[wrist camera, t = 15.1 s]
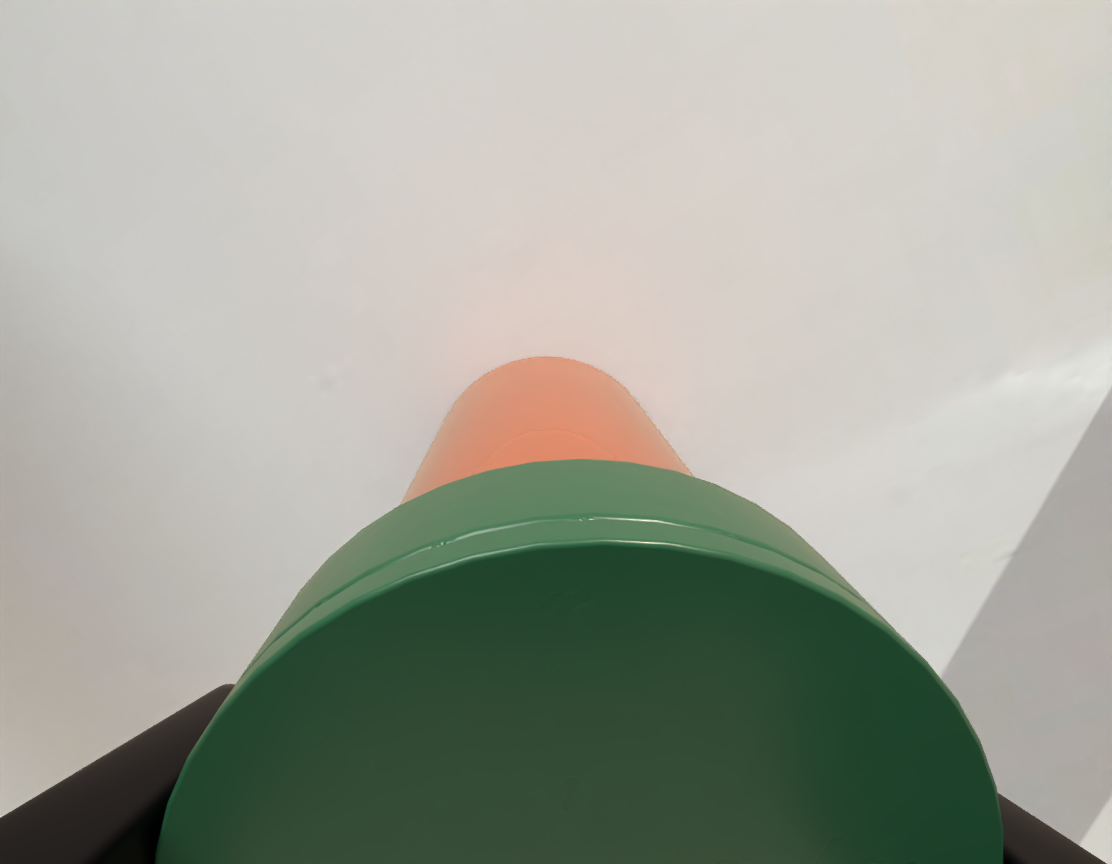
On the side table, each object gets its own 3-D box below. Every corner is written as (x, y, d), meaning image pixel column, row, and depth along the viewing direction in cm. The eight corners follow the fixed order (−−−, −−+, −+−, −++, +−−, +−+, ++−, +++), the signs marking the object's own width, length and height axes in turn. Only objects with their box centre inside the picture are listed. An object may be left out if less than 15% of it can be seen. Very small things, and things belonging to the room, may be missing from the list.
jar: (427, 557, 17) (280, 993, 7) (443, 343, 16) (285, 501, 5) (638, 575, 18) (789, 1014, 7) (673, 370, 16) (923, 563, 6)
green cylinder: (238, 967, 8) (146, 1192, 6) (252, 411, 6) (128, 480, 4) (798, 1002, 8) (876, 1216, 6) (961, 502, 6) (1137, 598, 5)
